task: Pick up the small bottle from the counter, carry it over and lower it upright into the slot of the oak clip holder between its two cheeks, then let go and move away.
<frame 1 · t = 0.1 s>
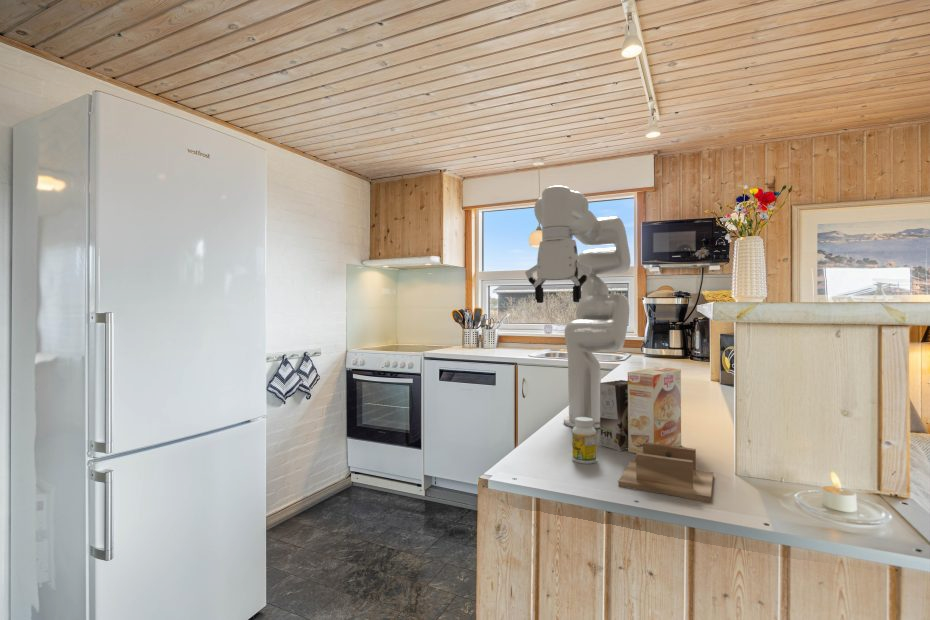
hand: (557, 302, 117), 37 cm above the worktop, tool pointing down, fingers open, 9 cm apart
coffee box: (621, 446, 117), on the worktop
holder: (666, 481, 92), on the worktop
coffeecake box: (655, 449, 113), on the worktop
supplement bottle: (584, 461, 105), on the worktop
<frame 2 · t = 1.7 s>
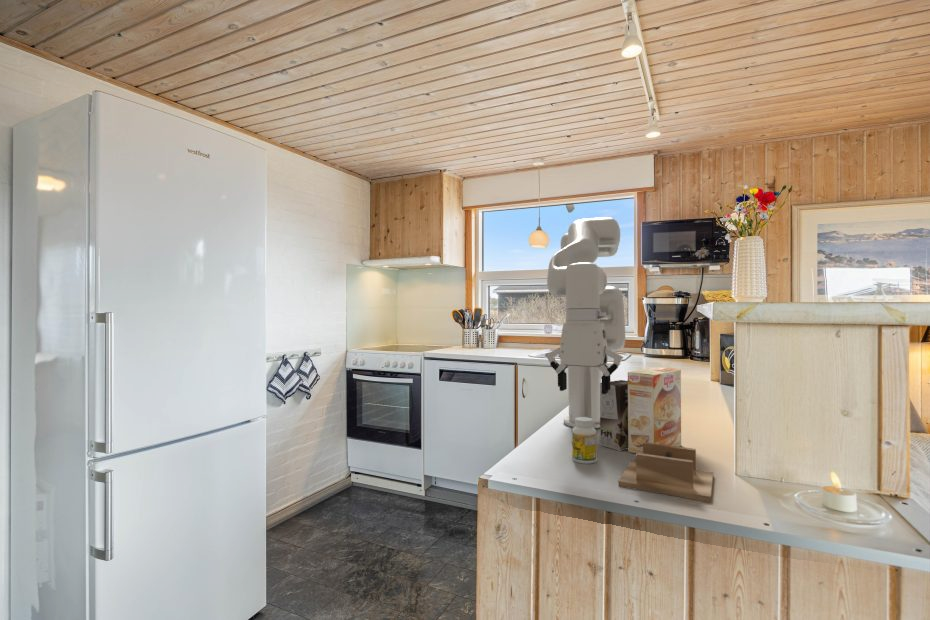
hand: (583, 391, 105), 16 cm above the worktop, tool pointing down, fingers open, 9 cm apart
nothing on the worktop moved.
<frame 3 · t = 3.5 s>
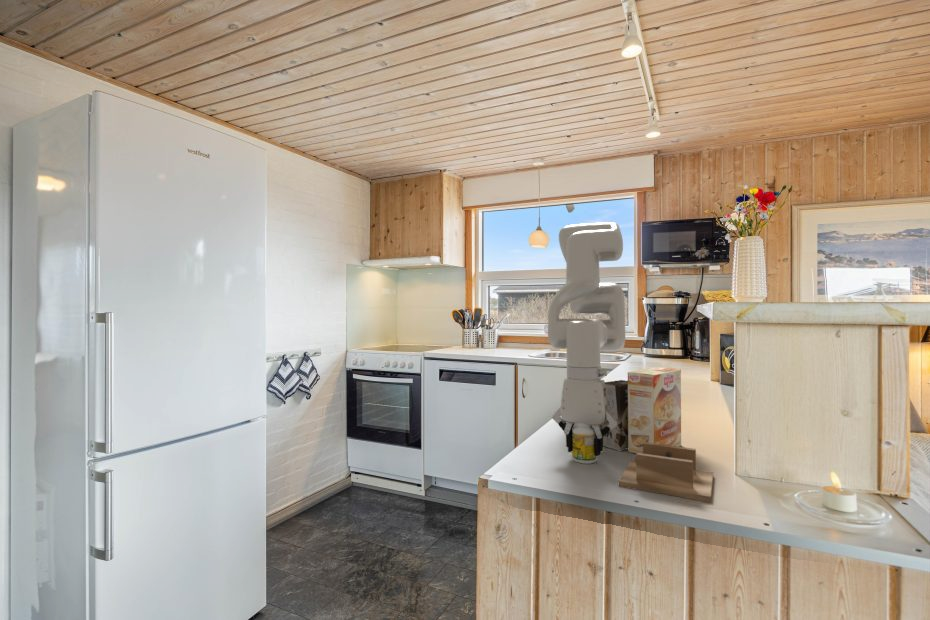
hand: (584, 451, 105), 2 cm above the worktop, tool pointing down, fingers closed on supplement bottle, 5 cm apart
supplement bottle: (584, 461, 105), on the worktop, touching gripper
everything else where it was.
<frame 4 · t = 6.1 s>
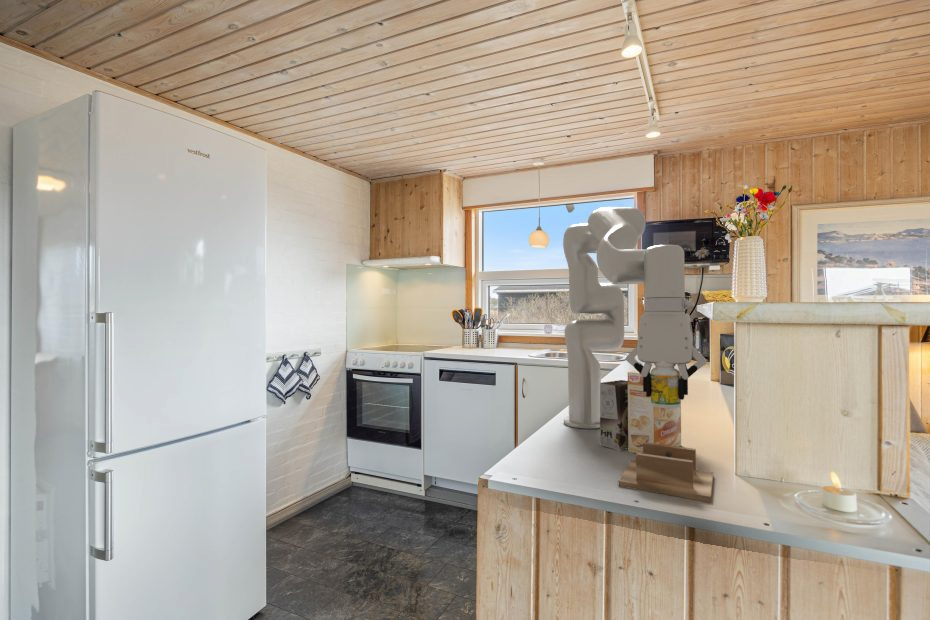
hand: (665, 396, 92), 17 cm above the worktop, tool pointing down, fingers closed on supplement bottle, 5 cm apart
supplement bottle: (665, 407, 92), point 15 cm above the worktop, touching gripper
everything else where it was.
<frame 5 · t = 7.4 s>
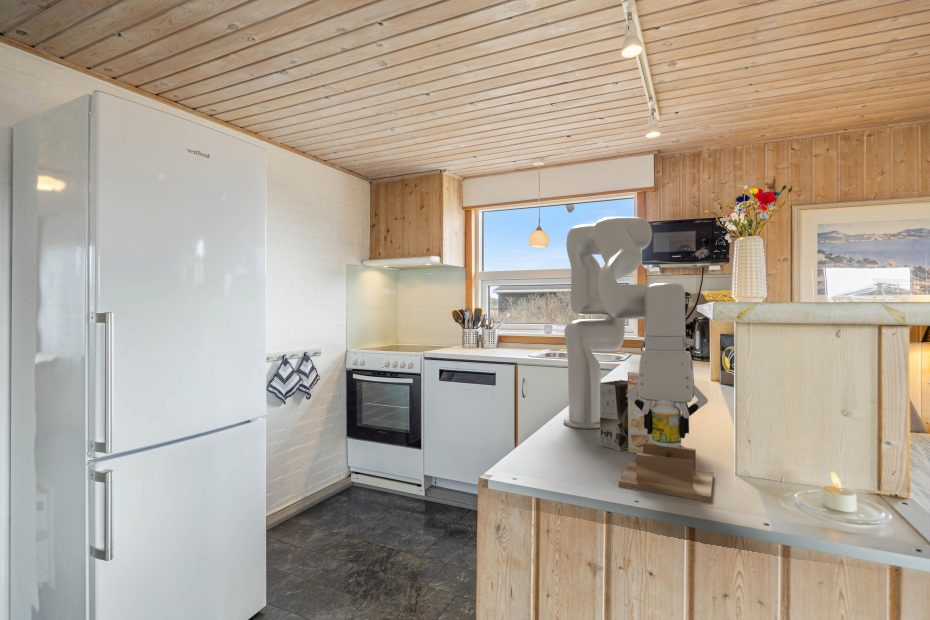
hand: (666, 433, 92), 10 cm above the worktop, tool pointing down, fingers closed on supplement bottle, 5 cm apart
supplement bottle: (666, 444, 92), point 7 cm above the worktop, touching gripper
everything else where it was.
when the fingers open (5 cm above the worktop, at t = 8.7 s): supplement bottle drops 2 cm, resting on holder.
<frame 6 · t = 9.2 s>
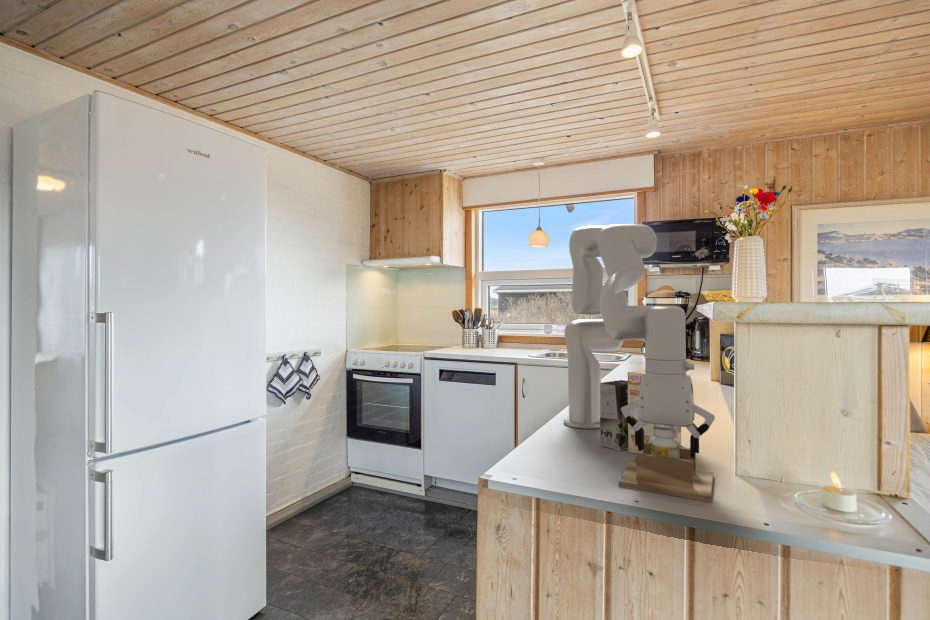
hand: (666, 452, 92), 6 cm above the worktop, tool pointing down, fingers open, 9 cm apart
supplement bottle: (665, 476, 92), point 1 cm above the worktop, touching holder
everything else where it was.
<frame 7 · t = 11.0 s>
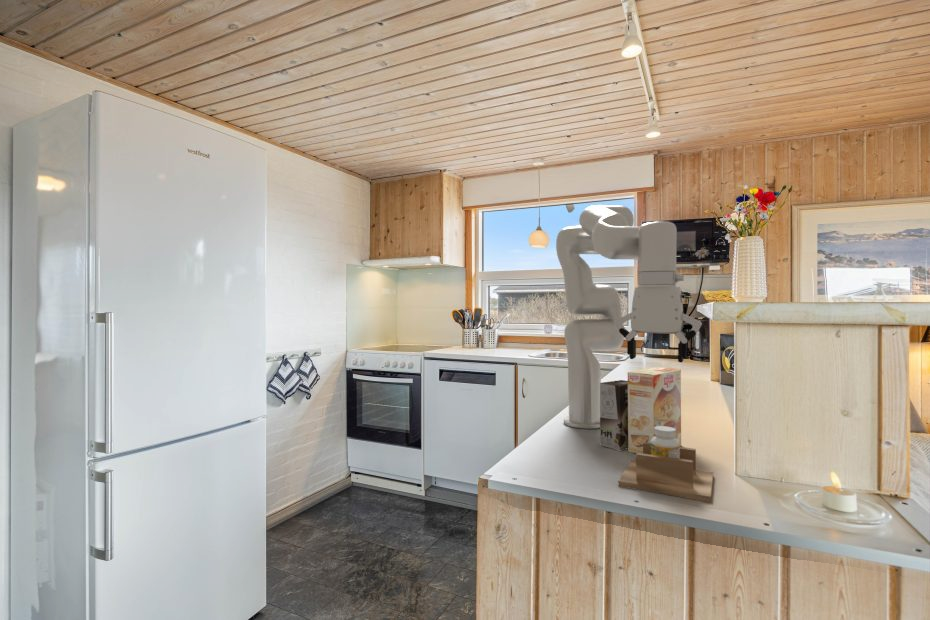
hand: (656, 359, 99), 24 cm above the worktop, tool pointing down, fingers open, 9 cm apart
nothing on the worktop moved.
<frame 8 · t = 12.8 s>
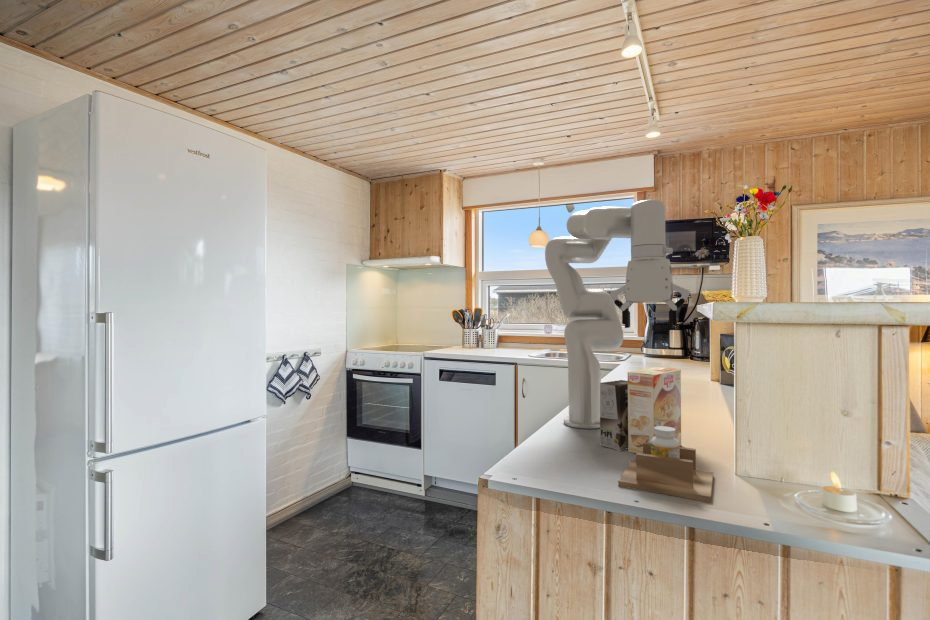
hand: (649, 327, 106), 30 cm above the worktop, tool pointing down, fingers open, 9 cm apart
nothing on the worktop moved.
at the end: supplement bottle inside the target area on the holder (0.3 cm from its centre), point 0.8 cm above the holder's base; supplement bottle tilted 0°; the gripper is holding nothing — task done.
